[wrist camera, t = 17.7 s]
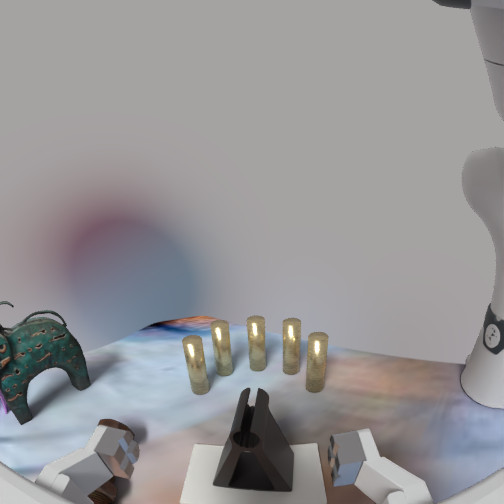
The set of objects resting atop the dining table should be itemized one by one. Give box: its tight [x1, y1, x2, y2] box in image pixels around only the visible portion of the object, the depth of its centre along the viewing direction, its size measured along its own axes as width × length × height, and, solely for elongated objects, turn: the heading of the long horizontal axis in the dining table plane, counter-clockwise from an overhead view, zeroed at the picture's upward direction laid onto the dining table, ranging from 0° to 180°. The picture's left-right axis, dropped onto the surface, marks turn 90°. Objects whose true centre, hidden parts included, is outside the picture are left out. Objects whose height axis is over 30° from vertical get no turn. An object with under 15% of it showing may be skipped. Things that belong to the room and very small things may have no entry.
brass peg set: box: [182, 316, 328, 395], centre depth 45 cm, size 22×10×10 cm, turn 88°
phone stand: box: [213, 388, 294, 492], centre depth 25 cm, size 9×6×12 cm, turn 82°
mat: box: [180, 443, 327, 504], centre depth 26 cm, size 16×10×1 cm, turn 88°
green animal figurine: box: [0, 301, 91, 425], centre depth 33 cm, size 20×6×20 cm, turn 151°
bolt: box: [87, 419, 134, 504], centre depth 22 cm, size 6×5×15 cm
